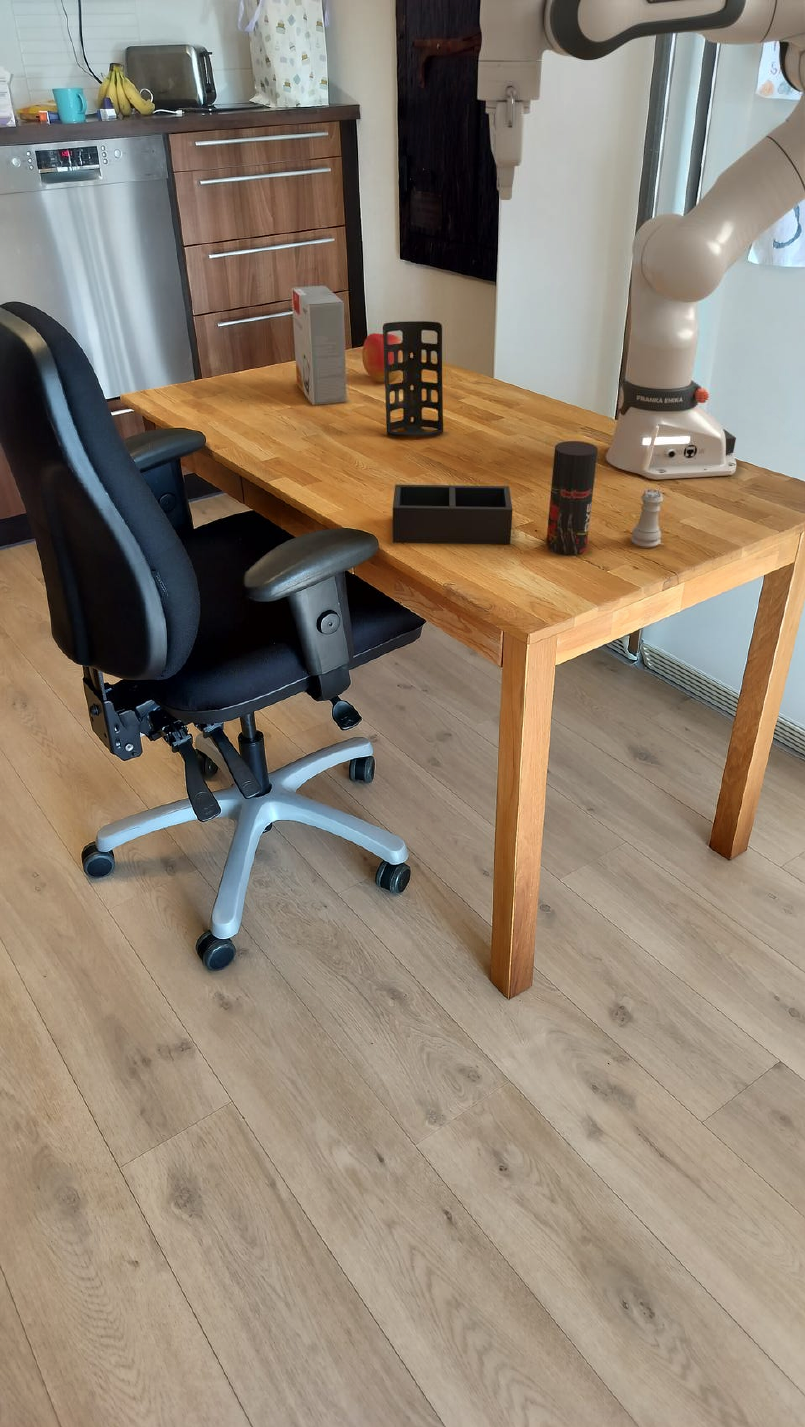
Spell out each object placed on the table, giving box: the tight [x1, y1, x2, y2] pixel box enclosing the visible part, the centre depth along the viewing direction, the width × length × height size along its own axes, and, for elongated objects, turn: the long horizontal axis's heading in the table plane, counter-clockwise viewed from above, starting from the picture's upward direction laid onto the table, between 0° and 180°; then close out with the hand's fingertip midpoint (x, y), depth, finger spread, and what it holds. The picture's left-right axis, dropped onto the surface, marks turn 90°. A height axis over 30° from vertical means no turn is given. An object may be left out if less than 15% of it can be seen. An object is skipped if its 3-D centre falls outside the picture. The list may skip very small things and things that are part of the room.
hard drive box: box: [290, 285, 348, 406], centre depth 205 cm, size 16×8×20 cm, turn 17°
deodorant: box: [545, 440, 599, 557], centre depth 143 cm, size 6×6×15 cm
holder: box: [382, 320, 444, 438], centre depth 185 cm, size 11×8×20 cm
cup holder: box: [392, 483, 514, 546], centre depth 150 cm, size 9×18×6 cm, turn 88°
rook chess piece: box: [630, 488, 664, 549], centre depth 146 cm, size 4×4×8 cm
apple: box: [361, 332, 403, 384], centre depth 215 cm, size 10×10×10 cm
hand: (503, 195), depth 148 cm, fingers open, 8 cm apart
